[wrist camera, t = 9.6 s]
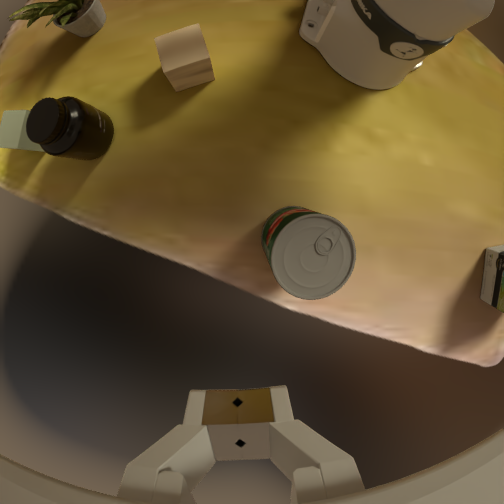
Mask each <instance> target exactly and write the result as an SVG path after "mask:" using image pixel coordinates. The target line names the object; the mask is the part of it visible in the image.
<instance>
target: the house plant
mask: <svg viewBox="0 0 504 504" xmlns="http://www.w3.org/2000/svg"><path fill="white" fill-rule="evenodd" d="M36 7H38V8H36ZM31 8H32V9H31ZM28 9H29V10H28ZM24 10H27V11H25V12H23V13H25V14H21V15H18V16H16V17H14V18H12V19H11V20H10V21H14V20H18V19H21V20H28V19H30V20H29V22H28V24H27V28H28V27H29V26H30V25H31V24H32V23H33V22H35V21H36V20H37V19H38V18H40V17H42V16H47V15H52V14H54V15H53V17H52V18H51V20H50V21H49V22H48V23H47V25H49V24H50V23H51V22H52V21H53V22H54V24H55V25H56V26H58V27H60V28H62V29H65V30H67V31H69V32H71V33H74V34H76V35H78V36H80V37H89V36H91V35H93V34H95V33H96V32H98V31H99V30H100V29H101V28H102V26H103V25H104V23H105V20H106V14H105V12H104V10H103V8H102V5H101V3H100V1H99V0H59V1H57V2H40V3H34V4H30V5H27V6H25V7H23V8H21V9H19V10H17V11H16V12H14V13H13V14H12V15H11V16H13V15H15V14H17V13H19V12H22V11H24ZM27 12H29V13H27ZM11 16H10V17H11ZM10 17H9V18H10ZM47 25H46V26H47Z"/></svg>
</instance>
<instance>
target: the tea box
mask: <svg viewBox="0 0 504 504" xmlns="http://www.w3.org/2000/svg"><path fill="white" fill-rule="evenodd" d="M480 299H481V300H483V301H484V302H486V303H488V304H489V305H491V306H493V307H495V308H496V309H498V310H500V311H501V312H503V313H504V245H500V246H494V247H490V248H486V255H485V264H484V273H483V281H482V289H481V296H480Z"/></svg>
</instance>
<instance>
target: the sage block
mask: <svg viewBox="0 0 504 504" xmlns="http://www.w3.org/2000/svg"><path fill="white" fill-rule="evenodd" d="M29 113H30V111H29V110H10V111H4V113H3V117H2V121H1V125H0V148H11V149H22V150H32V151H42V152H45V151H44V150H43V149H42V148H41V146H40V144H37V143H34V142H32V141H30V139H29V138H28V135H27V132H26V122H27V118H28V115H29Z"/></svg>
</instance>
